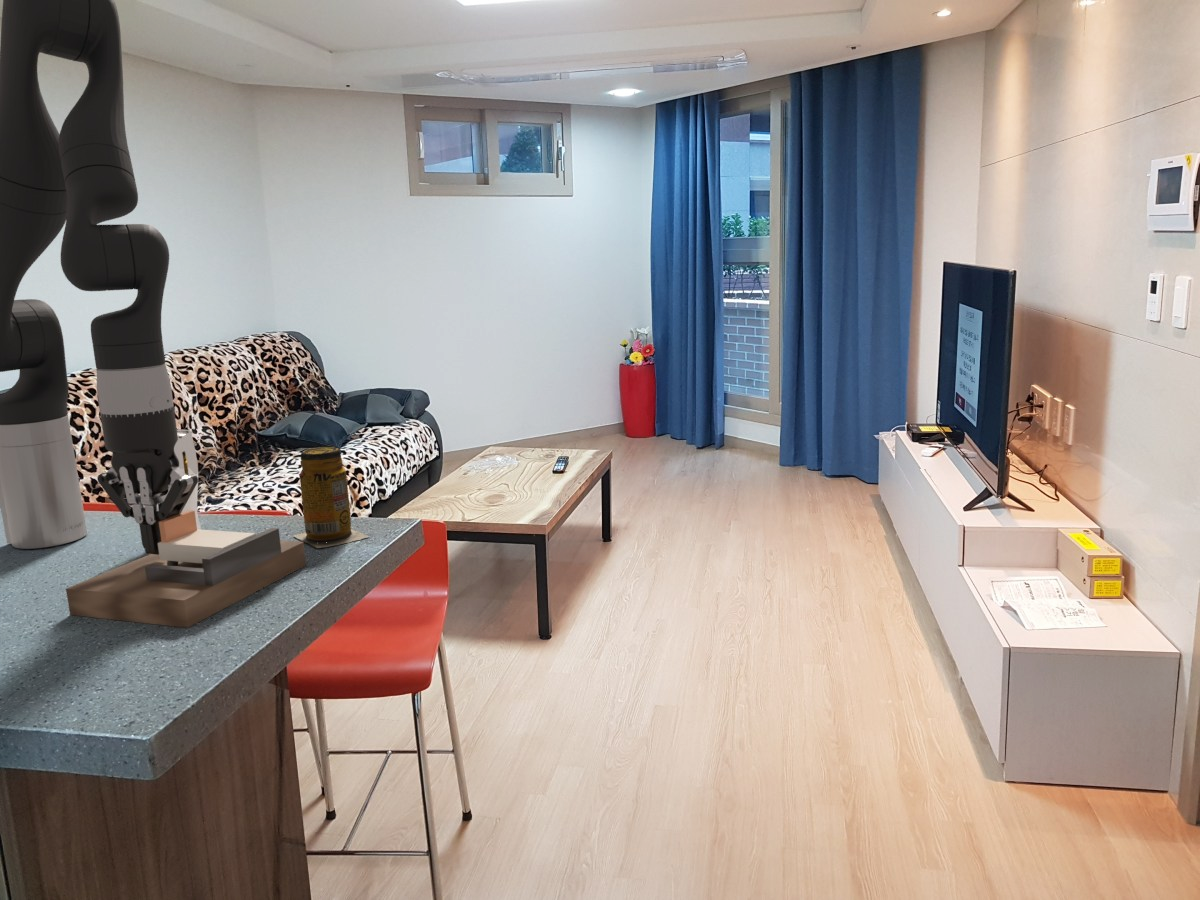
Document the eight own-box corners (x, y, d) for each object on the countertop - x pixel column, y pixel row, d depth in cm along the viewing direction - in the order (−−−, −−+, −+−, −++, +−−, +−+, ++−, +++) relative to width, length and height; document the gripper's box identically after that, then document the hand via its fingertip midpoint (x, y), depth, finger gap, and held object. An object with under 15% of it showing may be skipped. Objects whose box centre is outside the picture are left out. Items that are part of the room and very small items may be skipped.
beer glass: (218, 538, 129) (204, 431, 126) (172, 552, 123) (155, 440, 120) (187, 531, 133) (172, 427, 130) (141, 545, 127) (124, 437, 124)
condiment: (343, 525, 132) (334, 442, 130) (369, 538, 126) (361, 450, 123) (292, 537, 128) (282, 451, 125) (317, 550, 122) (307, 460, 119)
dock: (70, 614, 102) (61, 562, 101) (201, 557, 121) (195, 512, 119) (188, 627, 97) (180, 572, 96) (306, 565, 116) (300, 518, 114)
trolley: (161, 569, 107) (154, 522, 105) (196, 554, 112) (190, 509, 110) (226, 575, 104) (219, 526, 102) (258, 559, 109) (253, 513, 108)
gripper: (208, 402, 107) (225, 546, 111) (118, 399, 111) (138, 538, 115) (158, 413, 100) (179, 567, 104) (64, 410, 104) (87, 558, 108)
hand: (157, 552), depth 110 cm, fingers closed
